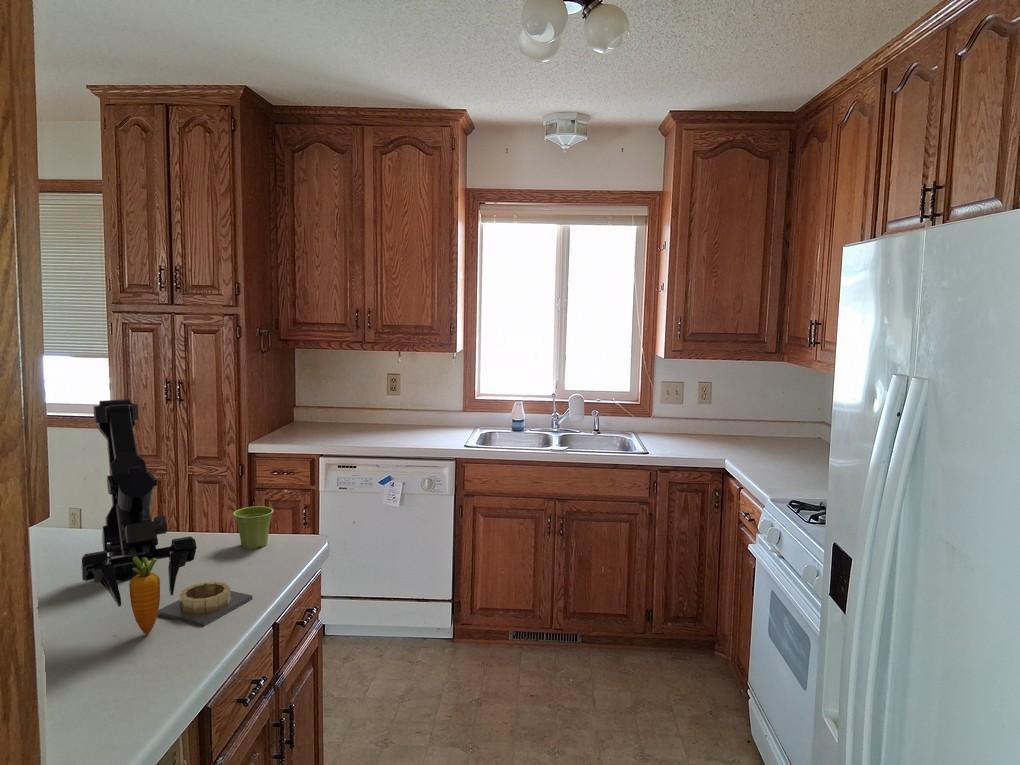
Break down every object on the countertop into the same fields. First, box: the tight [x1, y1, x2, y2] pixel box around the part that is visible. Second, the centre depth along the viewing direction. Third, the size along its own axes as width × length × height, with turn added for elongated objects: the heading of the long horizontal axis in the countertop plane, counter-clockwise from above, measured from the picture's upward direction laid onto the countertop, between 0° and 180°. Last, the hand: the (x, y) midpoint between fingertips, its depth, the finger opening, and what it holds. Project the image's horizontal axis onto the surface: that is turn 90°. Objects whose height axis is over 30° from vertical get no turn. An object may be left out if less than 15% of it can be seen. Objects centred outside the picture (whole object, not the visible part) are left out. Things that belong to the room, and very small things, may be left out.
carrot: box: [128, 556, 161, 636], centre depth 127 cm, size 5×5×15 cm
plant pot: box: [233, 506, 274, 549], centre depth 174 cm, size 9×9×9 cm
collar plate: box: [157, 581, 253, 627], centre depth 139 cm, size 12×13×3 cm
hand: (146, 599), depth 126 cm, fingers open, 8 cm apart
